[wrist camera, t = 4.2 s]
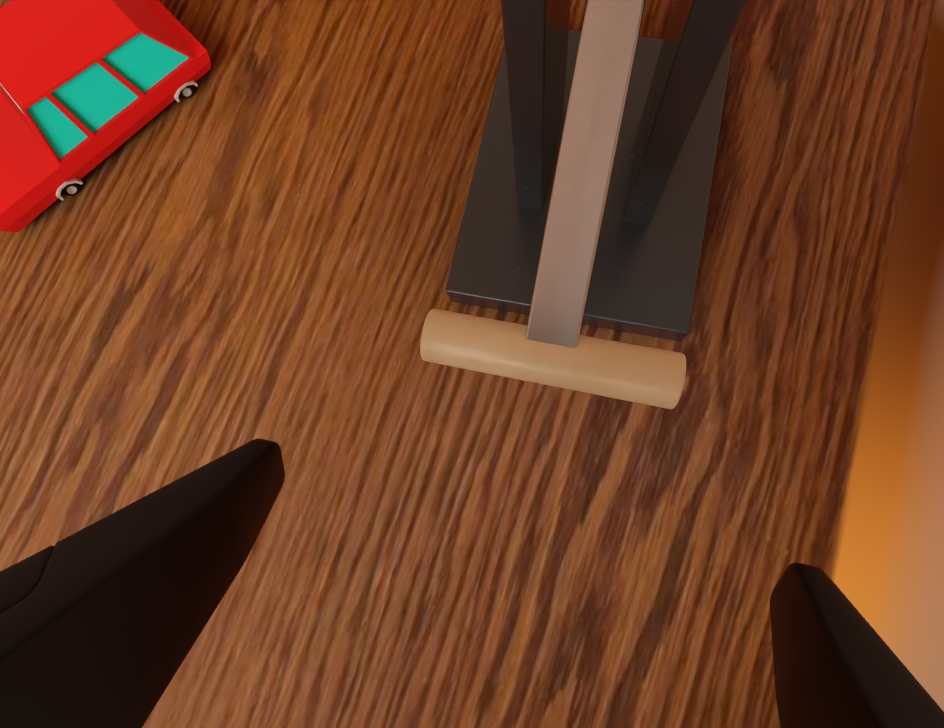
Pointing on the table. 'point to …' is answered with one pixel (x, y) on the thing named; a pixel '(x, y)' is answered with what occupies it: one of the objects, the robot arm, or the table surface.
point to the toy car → (81, 90)
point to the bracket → (633, 173)
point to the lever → (571, 248)
